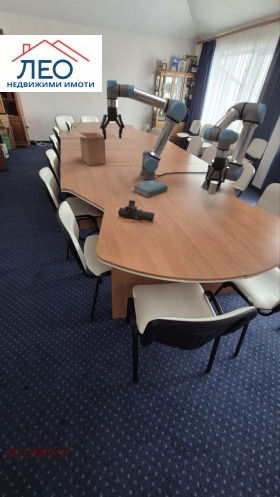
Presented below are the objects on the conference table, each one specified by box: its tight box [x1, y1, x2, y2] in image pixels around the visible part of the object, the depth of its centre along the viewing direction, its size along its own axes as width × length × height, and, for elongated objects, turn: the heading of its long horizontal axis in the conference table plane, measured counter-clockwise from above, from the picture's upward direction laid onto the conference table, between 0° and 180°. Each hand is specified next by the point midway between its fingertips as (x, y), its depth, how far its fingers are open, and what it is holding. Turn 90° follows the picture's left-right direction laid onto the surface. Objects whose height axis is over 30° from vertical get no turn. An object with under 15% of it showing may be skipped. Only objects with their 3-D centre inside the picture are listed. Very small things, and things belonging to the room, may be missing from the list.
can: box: [207, 181, 218, 196], centre depth 156 cm, size 6×6×8 cm
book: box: [133, 179, 169, 198], centre depth 177 cm, size 23×16×5 cm
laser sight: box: [117, 199, 155, 223], centre depth 137 cm, size 10×22×10 cm, turn 78°
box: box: [70, 129, 114, 166], centre depth 229 cm, size 44×36×27 cm
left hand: (112, 138), depth 173 cm, fingers open, 13 cm apart
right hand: (212, 190), depth 157 cm, fingers closed on can, 6 cm apart
